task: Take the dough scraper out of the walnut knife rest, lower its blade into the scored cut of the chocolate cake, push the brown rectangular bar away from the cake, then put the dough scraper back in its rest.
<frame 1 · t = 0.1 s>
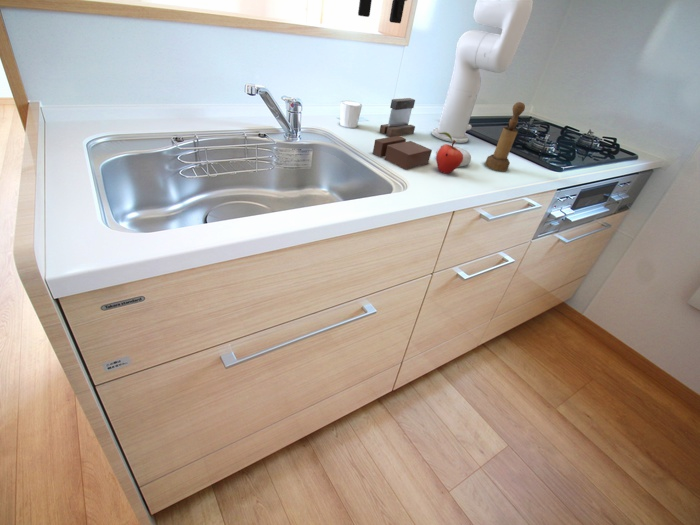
hand: (378, 19, 82), 31 cm above the worktop, tool pointing down, fingers open, 9 cm apart
brown rectangular bar: (388, 153, 105), on the worktop
apple: (443, 172, 99), on the worktop
knife rest: (396, 133, 122), on the worktop
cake: (406, 161, 101), on the worktop
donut: (451, 162, 107), on the worktop
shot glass: (348, 125, 122), on the worktop
dough scraper: (396, 133, 122), resting in knife rest
mortar and pestle: (495, 167, 108), on the worktop
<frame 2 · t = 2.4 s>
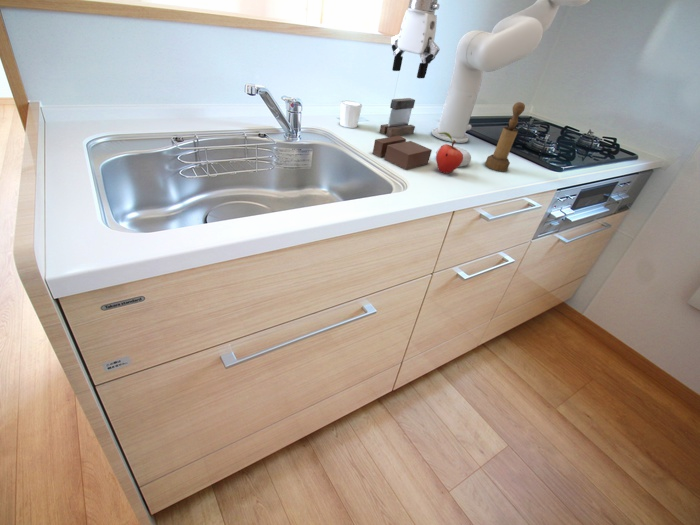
hand: (408, 74, 111), 18 cm above the worktop, tool pointing down, fingers open, 9 cm apart
nothing on the worktop moved.
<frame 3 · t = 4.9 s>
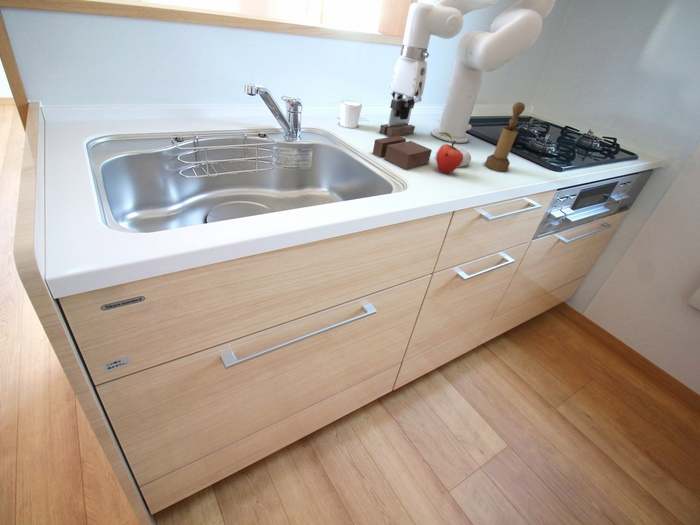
hand: (400, 117, 119), 5 cm above the worktop, tool pointing down, fingers closed on dough scraper, 2 cm apart
dough scraper: (396, 133, 122), resting in knife rest, touching gripper
everything else where it was.
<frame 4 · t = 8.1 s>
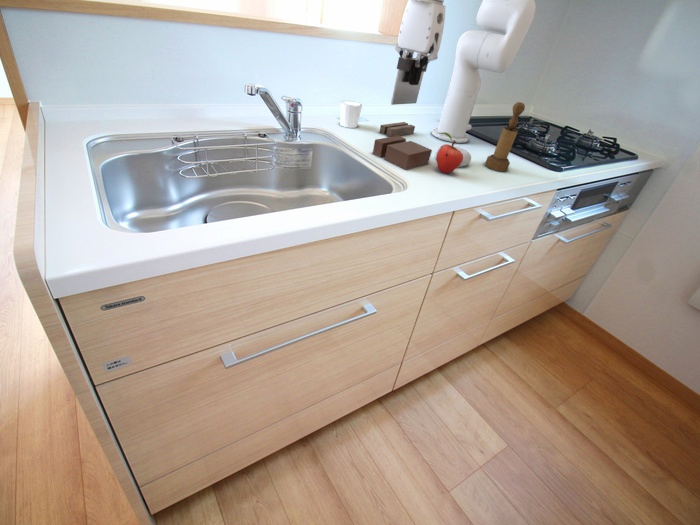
hand: (408, 82, 93), 19 cm above the worktop, tool pointing down, fingers closed on dough scraper, 2 cm apart
dough scraper: (403, 103, 97), point 14 cm above the worktop, touching gripper
everything else where it was.
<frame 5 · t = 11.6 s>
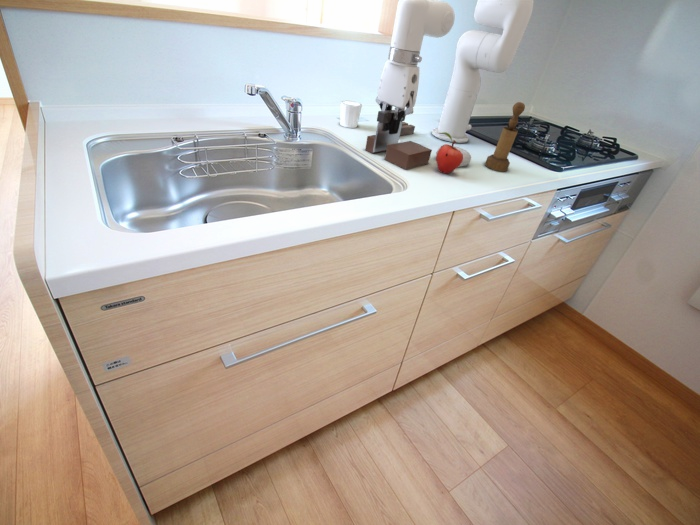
hand: (388, 131, 102), 6 cm above the worktop, tool pointing down, fingers closed on dough scraper, 2 cm apart
brown rectangular bar: (380, 149, 106), on the worktop, touching dough scraper
dough scraper: (385, 149, 105), point 1 cm above the worktop, touching brown rectangular bar, gripper
everything else where it was.
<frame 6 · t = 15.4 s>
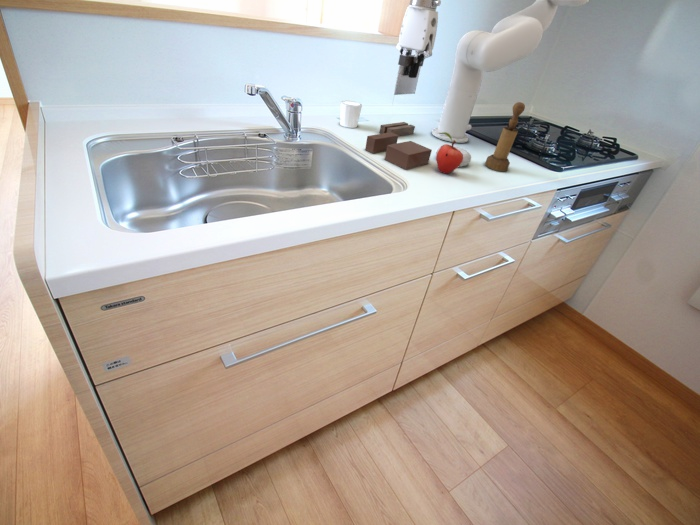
hand: (408, 75, 111), 18 cm above the worktop, tool pointing down, fingers closed on dough scraper, 2 cm apart
brown rectangular bar: (380, 149, 106), on the worktop
dough scraper: (404, 94, 114), point 12 cm above the worktop, touching gripper
everything else where it was.
when the fingers open (5 cm above the worktop, at t = 18.3 s): dough scraper stays where it is, resting in knife rest.
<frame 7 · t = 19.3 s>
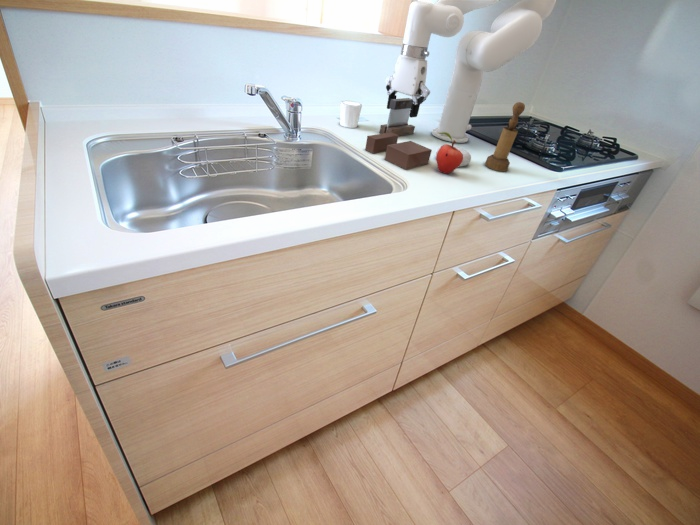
hand: (401, 112, 118), 7 cm above the worktop, tool pointing down, fingers open, 9 cm apart
dough scraper: (395, 133, 122), resting in knife rest
everything else where it was.
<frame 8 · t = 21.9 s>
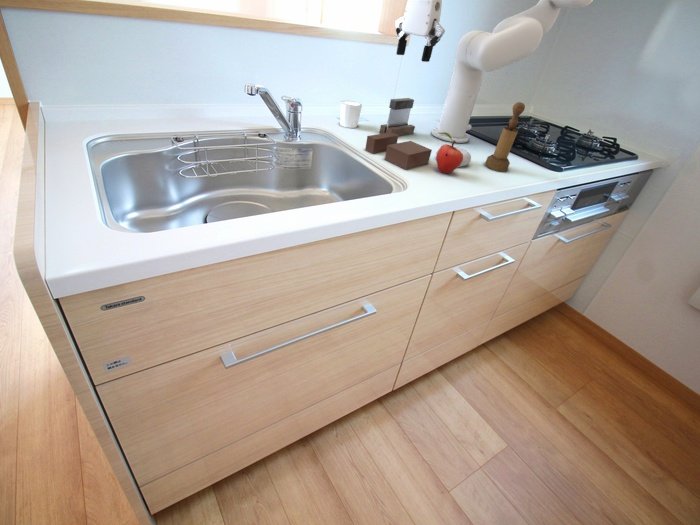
hand: (412, 58, 109), 22 cm above the worktop, tool pointing down, fingers open, 9 cm apart
nothing on the worktop moved.
at the end: brown rectangular bar moved 3.1 cm from its start; brown rectangular bar 0.2 cm from the target spot on the worktop beside the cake, on the worktop; dough scraper 0.4 cm off-centre on the knife rest, point 0.0 cm above the knife rest's base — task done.
